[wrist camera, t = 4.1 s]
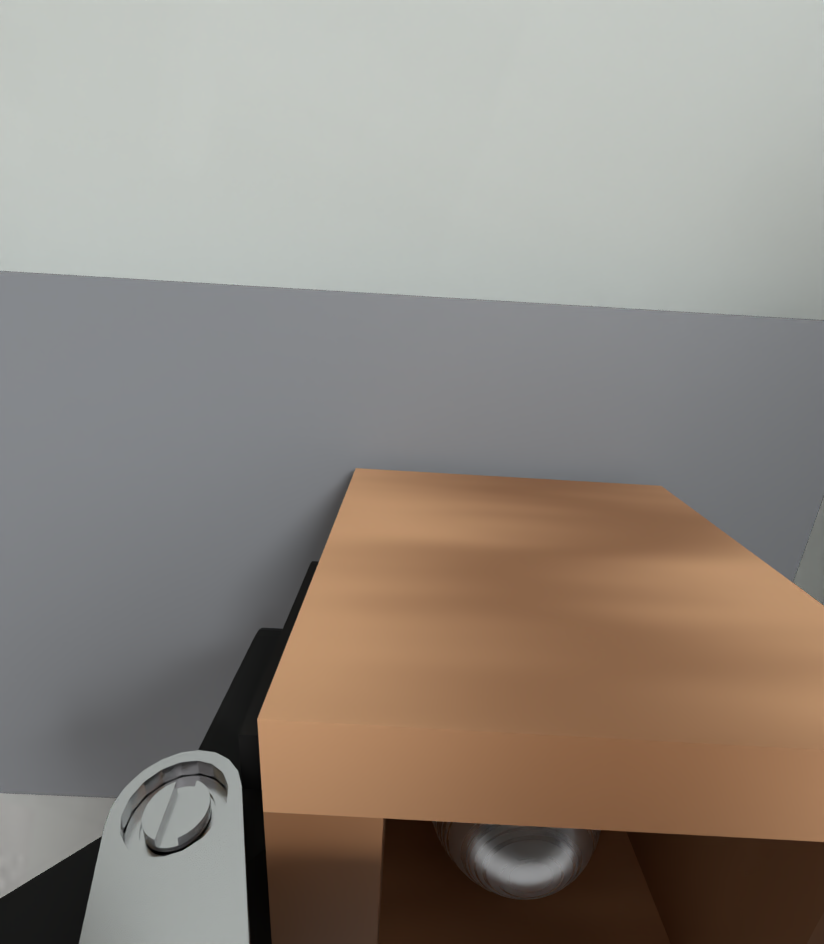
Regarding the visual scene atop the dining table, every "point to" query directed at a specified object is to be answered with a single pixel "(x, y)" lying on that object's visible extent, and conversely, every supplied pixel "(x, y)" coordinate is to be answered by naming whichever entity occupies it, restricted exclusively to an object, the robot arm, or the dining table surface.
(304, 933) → the wooden box frame
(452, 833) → the steel rod
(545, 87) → the dining table surface
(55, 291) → the board
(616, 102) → the dining table surface
